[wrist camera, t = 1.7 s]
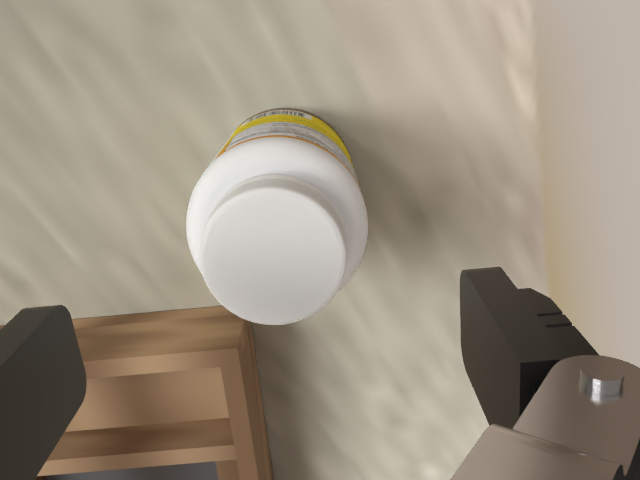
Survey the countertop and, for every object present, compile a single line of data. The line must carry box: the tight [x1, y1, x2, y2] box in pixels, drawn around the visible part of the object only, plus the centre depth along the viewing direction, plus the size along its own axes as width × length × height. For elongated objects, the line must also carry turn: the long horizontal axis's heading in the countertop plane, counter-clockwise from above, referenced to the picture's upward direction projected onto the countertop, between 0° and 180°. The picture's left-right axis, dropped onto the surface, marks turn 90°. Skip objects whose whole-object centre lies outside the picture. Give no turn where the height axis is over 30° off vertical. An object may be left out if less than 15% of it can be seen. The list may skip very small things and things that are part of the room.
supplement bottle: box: [186, 108, 368, 325], centre depth 20 cm, size 6×6×10 cm
